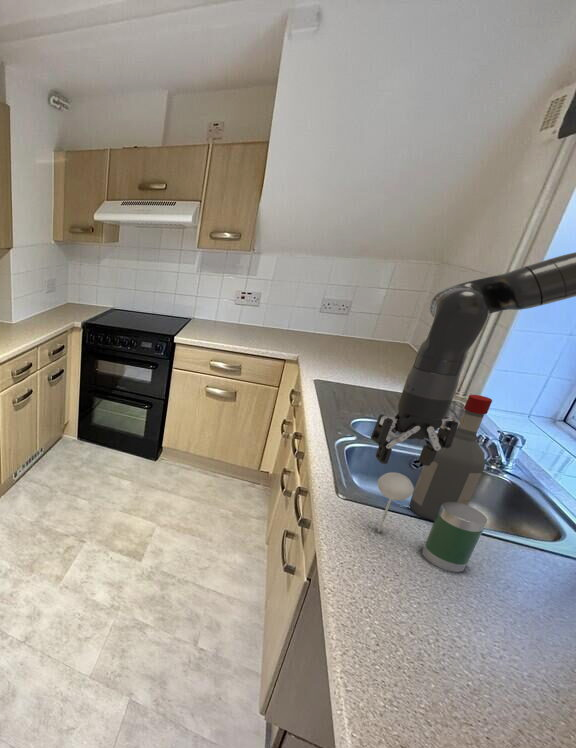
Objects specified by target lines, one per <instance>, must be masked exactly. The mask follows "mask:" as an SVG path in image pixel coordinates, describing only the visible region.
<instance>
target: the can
mask: <svg viewBox="0 0 576 748" xmlns="http://www.w3.org/2000/svg"><path fill="white" fill-rule="evenodd" d="M487 522H488V517H487V516H486V515H485V514H484V513H482V512H481V511H480V510H478V509H476V508H474V507H472V506H469V505H468V506H467V505H464V504H461V503H457V502H444V503H443V504H442V506H441V508H440V510H439V512H438V514H437V517H436V519H435V521H433V524H432V526H431V529H430V531H429V534H428V535H427V538H426V541H425V542H424V546H423V549H422V552H421V553H422V555H423V557H424V558H425V559H426V560H427V561H428V562H429V563H431V564H433V565H434V566H435V567H438V568H440V569H443V570H445V571H448V572H452V573H461V572H463V571H464V570H465V568H466V566H467V565H468V563H469V561H470V559H471V557H472V554H473V553H474V550H475V548H476V546H477V544H478V542H479V540H480V538H481V536H482V534H483V532H484V529H485V526H486V524H487Z"/></svg>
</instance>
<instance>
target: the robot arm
mask: <svg viewBox="0 0 576 748" xmlns="http://www.w3.org/2000/svg"><path fill="white" fill-rule="evenodd" d="M575 297H576V251H575V252H571V253H566V254H562V255H558V256H555V257H552V258H549V259H545V260H542V261H539V262H536V263H532V264H529V265H525V266H523V267H522V266H521V267H520V268H517V269H513V270H511V271H508V272H505V273H501V274H497V275H491V276H487V277H482V278H478V279H474V280H469V281H464V282H462V283H458V284H454V285H451V286H449V287H446V288H444V289H442V290H440V291H438V292H437V293H435V295H434V296H433V297H432V299H431V300H430V303H429V313H430V314H431V317H432V318H433V321H432V324H431V327H430V329H429V332H428V335H427V337H426V338H425V339H423V340H422V342H420V345H419V346H418V349H417V352H416V354H415V358H414V361H413V364H412V367H411V368H410V370H409V372H408V375H407V377H406V379H405V383H404V386H403V389H402V392H401V395H400V398H399V401H398V404H397V410H398V411H397V414H396V415H395V416H387V415H385V414H383V413H382V414H380V415H378V416H377V417H378V418H377V420H376V422H375V425H374V428H373V430H372V433H371V436H370V440H371V441H373V443H375V444H377V445H378V447H377V451H376V453H375V458H376V460H378V462H379V463H380V464H383V465H387V464H389V463H388V462H389V459H390V457H391V454H392V450H393V447H395V446H396V445H397V444H398V443H403V442H404V441H405V440H416V439H417V440H419V441H420V440H421V441H422V440H423V442H424V444H425V445H423V446H422V449H421V452H420V455H419V457H418V462H419V463H420V464H422V465H423V466H424V465H425V466H430V464H431V463H432V462H433V461H434V458H435V455H436V453H437V451H438V450H440V449H441V448H444V447H445V448H450V447H451V445H452V442H453V439H454V436H455V433H456V430H457V429H458V427H459V422H458V421H456V420H454V419H453V418H450V417H448V416H447V415H448V413H449V411H450V408H451V405H452V403H453V400H454V397H455V394H456V392H457V390H458V386H459V383H460V382H459V381H460V377H461V374H462V371H463V368H464V366H465V363H466V360H467V357H468V353H469V351H470V349H471V348H472V347H473V345H474V343H475V342H476V341H477V339H478V337H479V335H480V334H481V332H482V330H483V329H484V327H485V325H486V323H487V320H488V318H489V316H490V315H489V314H494V313H499V312H503V311H508V310H509V311H512V310H513V311H521V310H527V309H533V308H537V307H541V306H544V305H548V304H549V305H550V304H552V303H556V302H560V301H564V300H567V299H571V298H575ZM437 430H438V431H437ZM436 431H437V433H436ZM397 432H398V434H396V433H397ZM444 438H445V440H444Z"/></svg>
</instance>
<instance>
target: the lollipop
mask: <svg viewBox="0 0 576 748" xmlns="http://www.w3.org/2000/svg"><path fill="white" fill-rule="evenodd" d="M377 487H378V490H379V492H380V493H381V495H383V497H385V498H387V499H388V501H387V504H386V507H385V509H384V512H383V515H382V517H381V520H380V523H379V526H378V528H377V532H378V533H381V531H382V528H383V525H384V522H385V519H386V517H387V514H388V512H389V509H390V505H391V503H392V501H395V502H396V501H399V502H400V501H405V500H407V499H409V498H410V497H412V495H413V492H414V490H415V487H414V485H413V483H412V481H411V479H410V478H409V477H408V476H406V475H404V474H402V473H400V472H396V471H395V472H394V471H392V472H387V473H384V474H383V475H381V476H380V477H379V478H378V480H377Z"/></svg>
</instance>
